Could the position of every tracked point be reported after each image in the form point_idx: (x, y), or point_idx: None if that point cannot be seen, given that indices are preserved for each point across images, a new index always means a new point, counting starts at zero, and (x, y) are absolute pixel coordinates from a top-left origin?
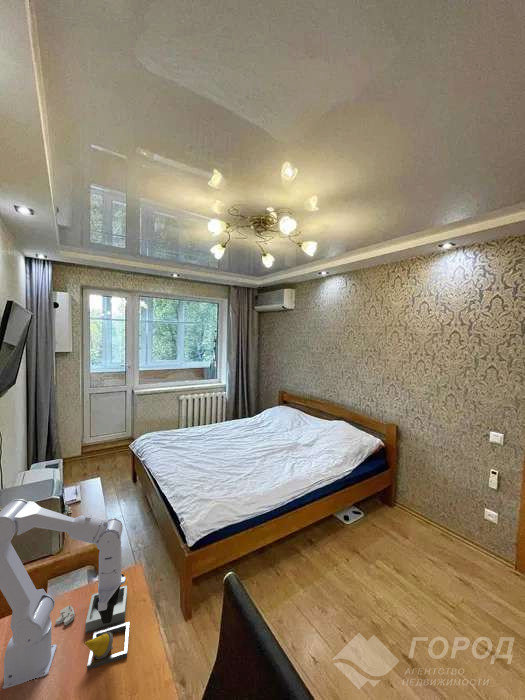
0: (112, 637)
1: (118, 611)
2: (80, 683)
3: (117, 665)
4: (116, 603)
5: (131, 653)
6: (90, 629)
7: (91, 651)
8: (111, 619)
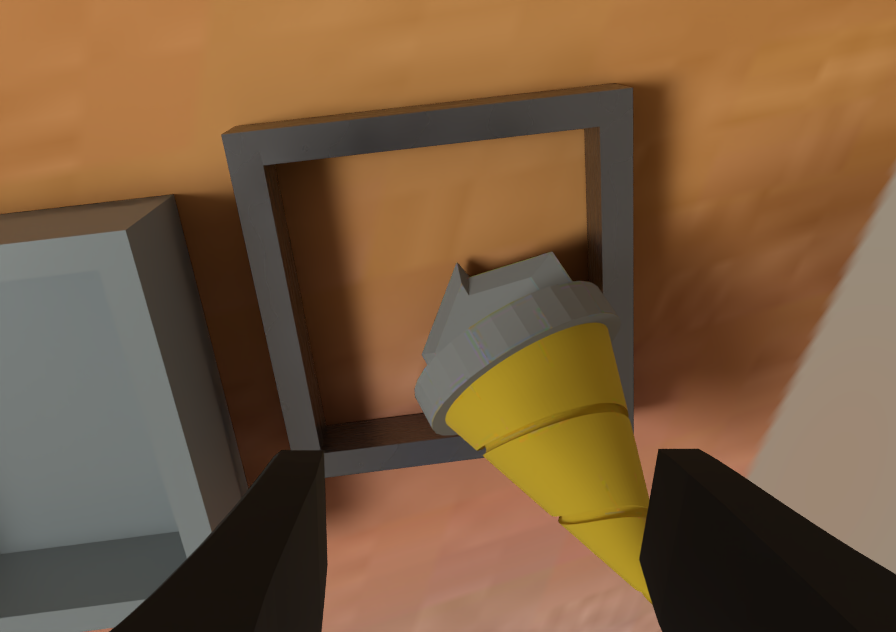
0: (525, 301)
1: (117, 312)
2: (695, 431)
3: (656, 167)
4: (319, 463)
5: (578, 41)
6: None
7: None
8: (728, 469)
